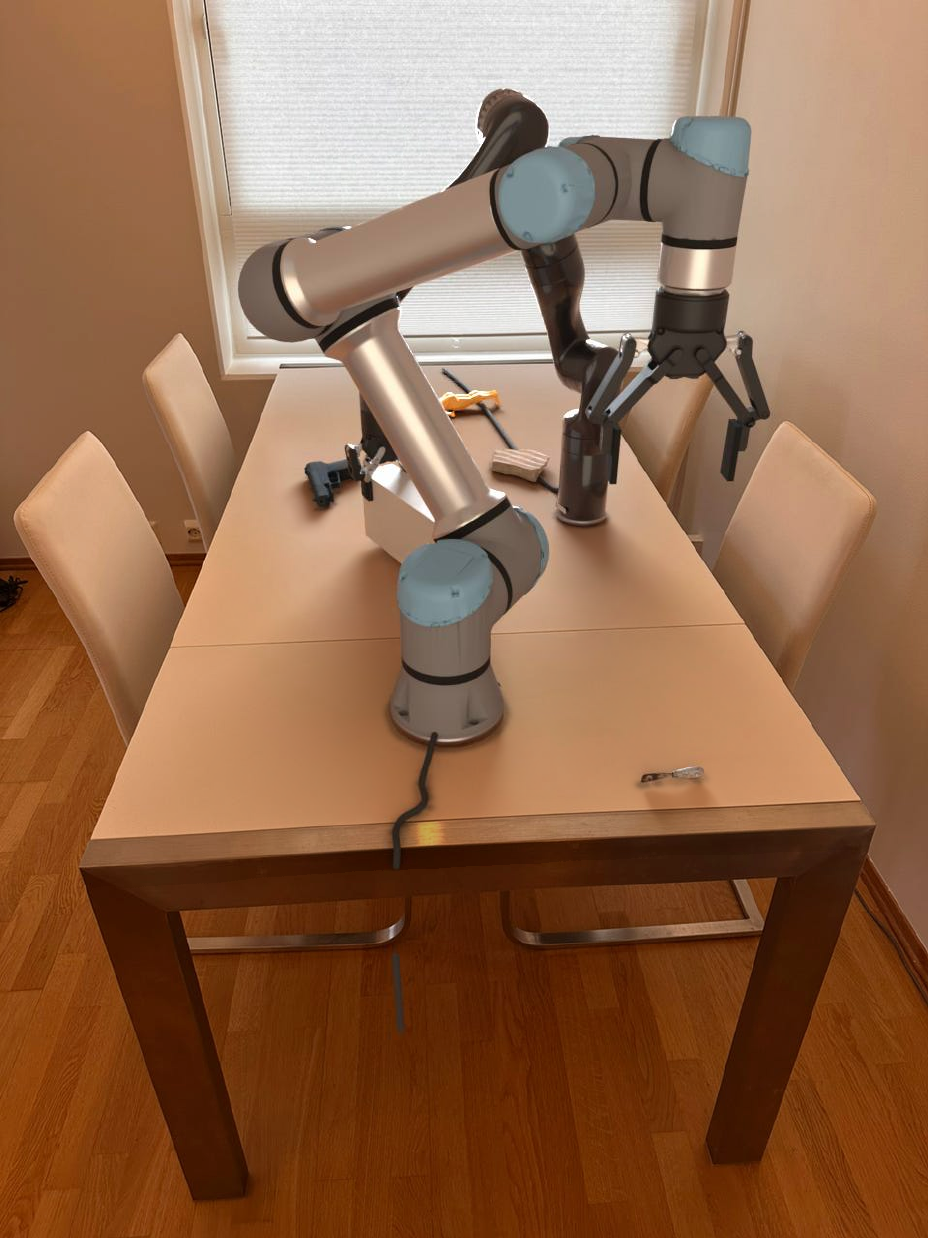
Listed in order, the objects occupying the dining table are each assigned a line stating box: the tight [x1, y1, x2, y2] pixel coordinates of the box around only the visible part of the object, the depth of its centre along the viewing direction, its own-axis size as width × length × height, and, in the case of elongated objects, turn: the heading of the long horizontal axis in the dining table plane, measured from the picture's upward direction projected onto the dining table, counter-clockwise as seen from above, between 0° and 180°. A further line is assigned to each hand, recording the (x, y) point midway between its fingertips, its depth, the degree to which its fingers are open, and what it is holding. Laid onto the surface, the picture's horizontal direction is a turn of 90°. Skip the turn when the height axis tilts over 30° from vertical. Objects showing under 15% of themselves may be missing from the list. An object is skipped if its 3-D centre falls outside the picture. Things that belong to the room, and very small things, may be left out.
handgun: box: [303, 457, 362, 509], centre depth 184 cm, size 3×18×12 cm
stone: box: [489, 448, 550, 483], centre depth 192 cm, size 13×12×2 cm
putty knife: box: [640, 765, 705, 784], centre depth 109 cm, size 1×8×2 cm, turn 103°
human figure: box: [438, 389, 500, 418], centre depth 225 cm, size 20×20×4 cm
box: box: [362, 463, 436, 565], centre depth 152 cm, size 27×6×12 cm, turn 33°
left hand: (669, 478), depth 104 cm, fingers open, 13 cm apart
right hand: (387, 495), depth 158 cm, fingers closed on box, 6 cm apart
